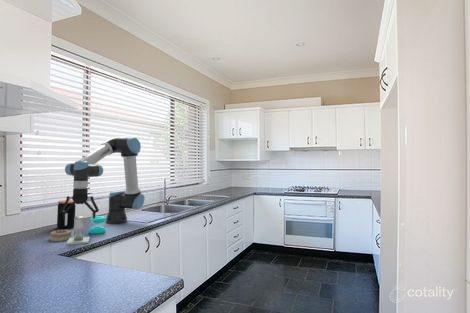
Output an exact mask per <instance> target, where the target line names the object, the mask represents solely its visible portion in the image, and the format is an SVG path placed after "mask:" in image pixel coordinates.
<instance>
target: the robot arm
mask: <svg viewBox="0 0 470 313" xmlns="http://www.w3.org/2000/svg"><path fill="white" fill-rule="evenodd" d="M141 147H142V146H141V142H140V140H139V139H138V138H137V137H133V136H114V137H112V138H109V139H107V140H105V141H104V142H102V143H101V144H100V146H99V147H97V148H96V149H94V150H93V151H92V152H90V153H88V154H87V155H85V156H84V157H82V158H81V159H79V160H77V161H75V162H74V163H73V162H70V163H67V164H66V165H65V167H64V172H65V173H66V175H68V176H72V177H73V185H72V186H73V189H72V196H70V195H67V196H66V198H65V200H66V201H65V203H64V205H63V207H62V208H61V210H60V213H63V219H65V226H66V225H67V214H68V213H66V212H67V211H68V210H69V209H70V208H71V207H72V206H73V205H74V204H76V205H84V204H85V206H87V208H88V209H89V210H90V211H91V217H90V218H91V222H90V224H91V225H93V224H94V223H93V218H95V216H96V213H98V212H99V211H100V209H99V207H98V206H97V204H96V201H95V200H94V195H91V196H89V195H88V192H89V191H88V190H89V188H88V187H89V178H97V177H100V176H102V175H103V173H104V168H103V166H102V165H100V164H97V163H98V162H100V161H101V160H103V159H104V158H105V157H107V156H110V155H112V154H115V153H116V154H120V156H121V158H122V159H123V166H124V167H123V168H124V180H125V190H118V191H117V190H116V191H111V192H109V193H108V195H109V196H108V212H107V215H106V216H105V217H106V221H105V223H107V224H123V223H127V222H128V217H127V213H126V210H140V209H141V208H143V206H144V204H145V200H146V199H145V195H144V194H143V193H142V191H141V189H140V188H139V180H138V170H137V169H138V166H137V157H138V155H139V153H141ZM88 199H89V201H91V204H92V205H91V204H90V203H89V202H88ZM69 200H73V201H74V202H73V203H72V204H71V205H70V206H69V207H68V208H67V209H66V210H65V211H63V210H64V208H65V207H66V205H67V203H68V201H69ZM92 206H93V207H92ZM93 226H94V225H93Z"/></svg>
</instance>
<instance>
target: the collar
mask: <svg viewBox="0 0 470 313" xmlns="http://www.w3.org/2000/svg"><path fill="white" fill-rule="evenodd" d="M49 237H50V241H53V242H62V241H63V240H64V241H68V239H69V238H72V230H71V229H70V230H69V229H58V230H53V231H51V232H50V236H49Z"/></svg>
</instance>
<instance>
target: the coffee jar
mask: <svg viewBox="0 0 470 313" xmlns="http://www.w3.org/2000/svg"><path fill="white" fill-rule="evenodd" d="M65 201H66V199H65V200H64V199H63V200H58V201H57V203H58V204H57V215H56V227H57V229H58V230H69V229H74V217H76V206H77V204H76V203H75V204H74V205H73V206H72V207H71V208H70V209H69V210H68V211H67V212H66V213H68V214H67V225H66V226H65V219H63V213H60V210H61V208H62V207H63V205H64V203H65ZM73 202H74V201H73V200H72V199H71V200H69V201H68V203H67V205H66V207H65V208H64V210H63V211H65V210H66V209H67V208H68V207H69V206H70V205H71V204H72V203H73Z"/></svg>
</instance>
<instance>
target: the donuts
mask: <svg viewBox="0 0 470 313" xmlns="http://www.w3.org/2000/svg"><path fill="white" fill-rule="evenodd" d="M106 217H107V216H104V215H97V216H96V215H95V218H93V224H94V225H95V224H97V226H93V227H90V228H89V229H88V233H90V234H92V235H99V234H103V233H105V232H106V230H107V229H106V227H105V226H103V225H102V226H101V225H98V224H103V223H106ZM89 223H91V217H90V218H89Z"/></svg>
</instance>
